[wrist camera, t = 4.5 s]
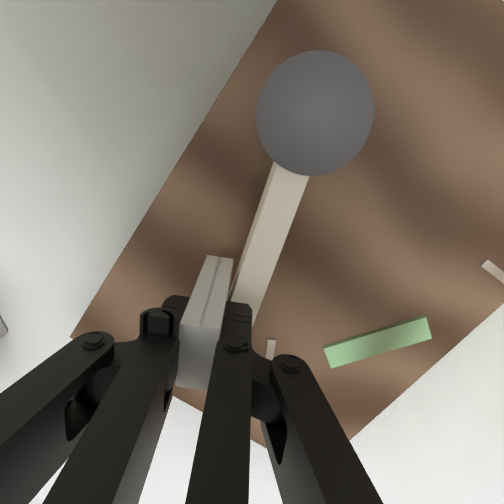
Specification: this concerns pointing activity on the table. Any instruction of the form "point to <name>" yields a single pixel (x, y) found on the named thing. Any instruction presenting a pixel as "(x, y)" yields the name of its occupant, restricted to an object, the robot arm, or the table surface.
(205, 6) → the table surface
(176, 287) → the dial board
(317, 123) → the grey-tipped match
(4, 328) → the coffee box
